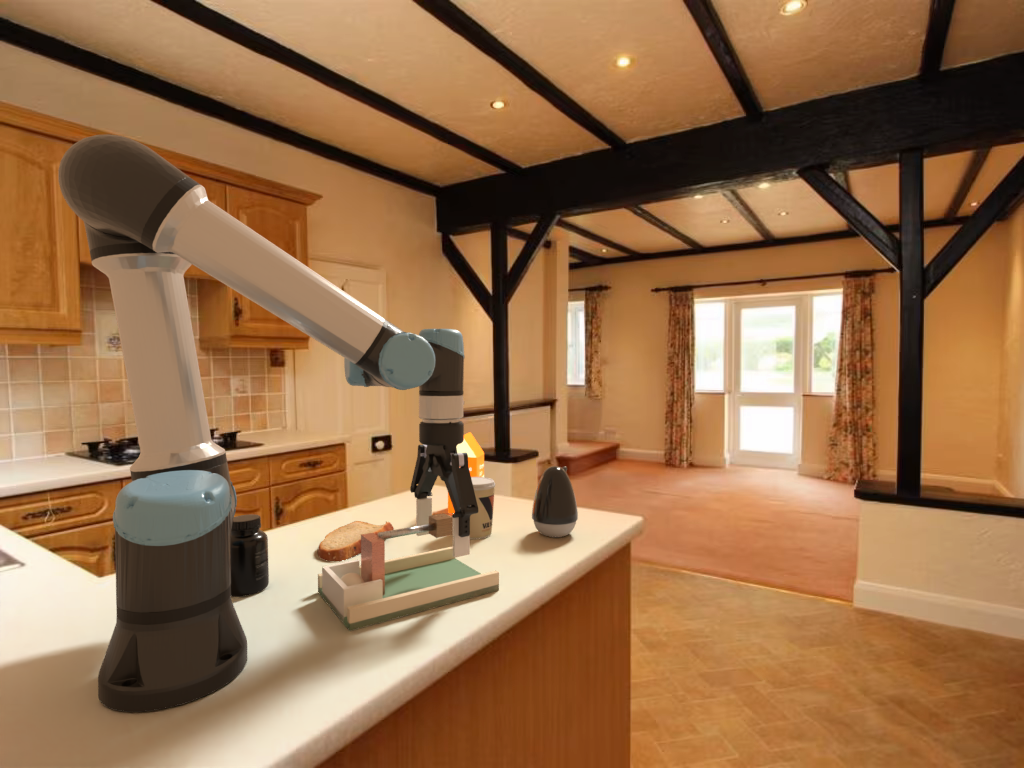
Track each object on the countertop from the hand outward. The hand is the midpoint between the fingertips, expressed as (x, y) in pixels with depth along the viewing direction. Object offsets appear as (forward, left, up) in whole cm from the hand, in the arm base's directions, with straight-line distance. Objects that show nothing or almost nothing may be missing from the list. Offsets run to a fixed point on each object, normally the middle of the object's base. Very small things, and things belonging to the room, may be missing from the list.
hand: (441, 544), depth 93 cm
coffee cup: (+19, +21, -7) cm, 29 cm away
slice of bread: (-4, +29, -7) cm, 30 cm away
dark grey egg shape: (+34, +11, -7) cm, 36 cm away
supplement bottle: (-28, +16, -7) cm, 33 cm away
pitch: (-6, 0, -7) cm, 9 cm away
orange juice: (+28, +40, -7) cm, 49 cm away
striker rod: (-6, 0, -5) cm, 8 cm away
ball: (-16, 0, -4) cm, 16 cm away
